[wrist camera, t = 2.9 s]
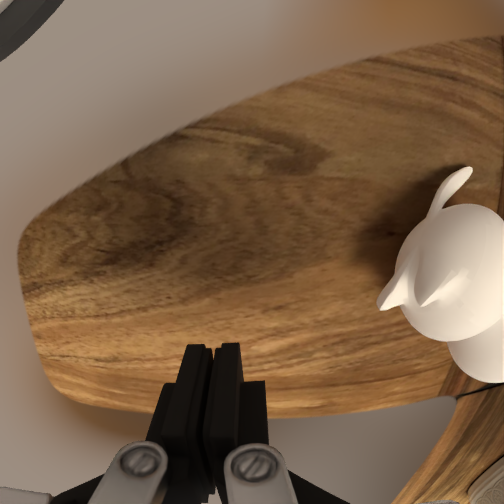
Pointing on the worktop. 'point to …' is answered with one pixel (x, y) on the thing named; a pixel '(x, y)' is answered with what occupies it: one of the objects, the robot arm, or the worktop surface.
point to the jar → (489, 486)
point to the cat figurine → (455, 281)
